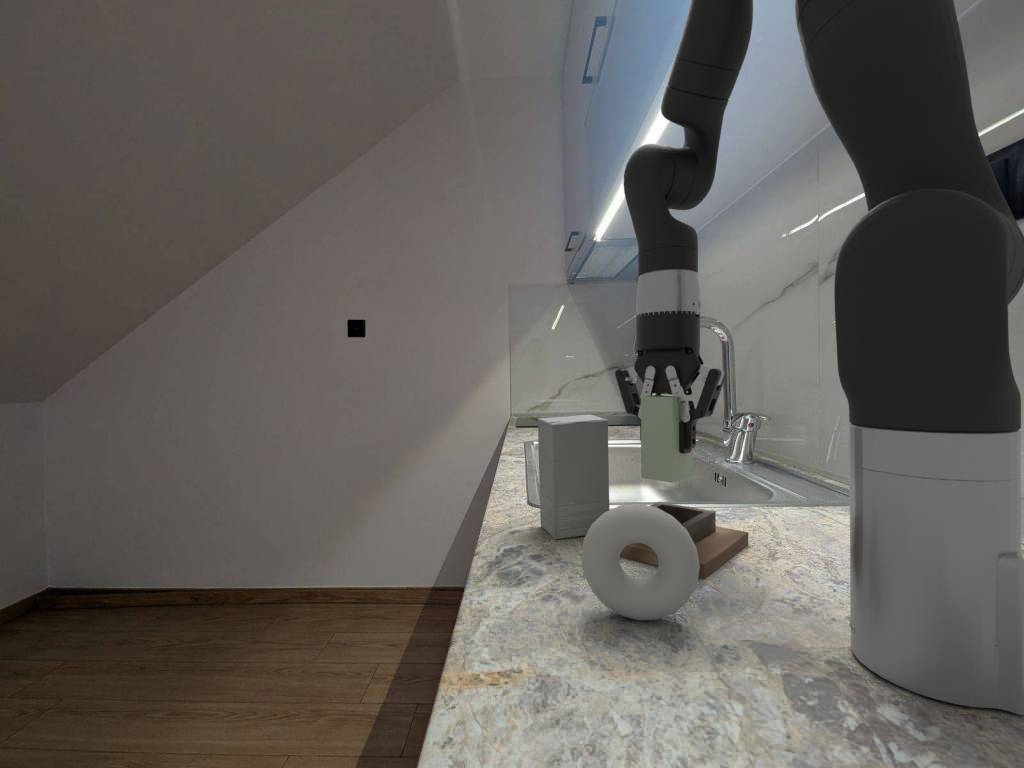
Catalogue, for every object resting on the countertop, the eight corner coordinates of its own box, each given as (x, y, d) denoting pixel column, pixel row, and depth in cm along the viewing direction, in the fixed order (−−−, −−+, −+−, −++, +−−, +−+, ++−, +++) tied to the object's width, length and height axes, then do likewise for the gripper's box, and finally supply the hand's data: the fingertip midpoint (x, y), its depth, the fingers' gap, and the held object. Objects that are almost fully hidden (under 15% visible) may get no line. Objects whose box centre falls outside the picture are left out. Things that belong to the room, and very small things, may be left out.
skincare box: (591, 521, 72) (590, 413, 72) (613, 536, 65) (612, 417, 65) (536, 526, 70) (535, 415, 70) (553, 542, 63) (552, 419, 63)
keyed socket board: (748, 544, 61) (748, 512, 61) (704, 578, 51) (704, 540, 51) (645, 522, 71) (645, 495, 71) (591, 548, 60) (590, 516, 60)
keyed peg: (672, 482, 57) (672, 397, 57) (641, 477, 60) (641, 396, 60) (693, 474, 62) (693, 395, 61) (663, 470, 64) (663, 394, 64)
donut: (698, 615, 43) (697, 502, 43) (702, 635, 40) (701, 512, 40) (584, 603, 46) (583, 496, 46) (579, 620, 42) (578, 505, 42)
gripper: (601, 314, 62) (601, 448, 63) (714, 303, 53) (714, 461, 53) (630, 319, 68) (630, 442, 68) (738, 309, 58) (737, 453, 59)
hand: (667, 450), depth 61 cm, fingers closed on keyed peg, 4 cm apart
